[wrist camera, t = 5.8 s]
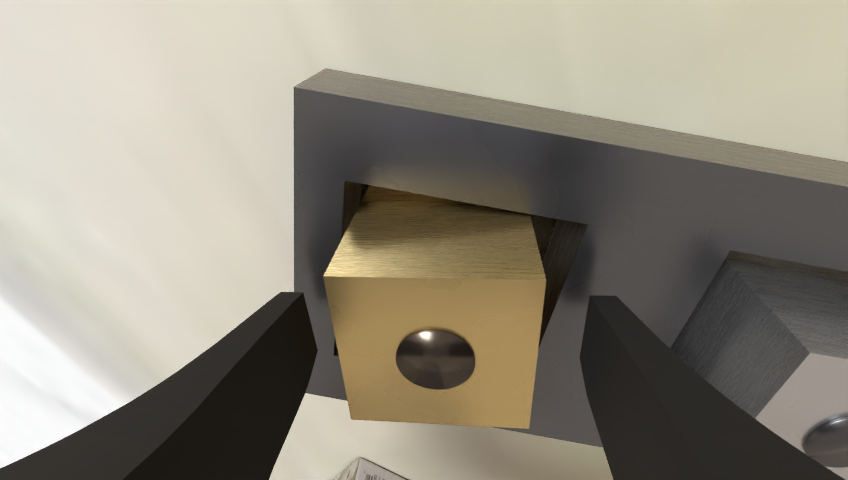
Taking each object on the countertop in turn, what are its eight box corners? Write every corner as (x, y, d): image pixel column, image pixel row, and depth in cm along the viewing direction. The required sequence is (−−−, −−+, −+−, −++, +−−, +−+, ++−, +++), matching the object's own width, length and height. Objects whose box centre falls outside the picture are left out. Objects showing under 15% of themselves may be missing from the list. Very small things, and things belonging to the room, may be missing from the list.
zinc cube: (848, 258, 13) (1035, 394, 9) (765, 363, 15) (881, 513, 11) (699, 231, 13) (813, 355, 9) (639, 340, 15) (705, 481, 11)
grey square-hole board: (993, 188, 12) (1106, 233, 10) (778, 425, 17) (822, 487, 15) (325, 68, 12) (293, 86, 10) (316, 341, 17) (294, 391, 15)
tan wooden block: (521, 180, 13) (547, 282, 8) (512, 301, 15) (529, 431, 11) (371, 181, 13) (321, 278, 9) (384, 299, 16) (350, 422, 11)
